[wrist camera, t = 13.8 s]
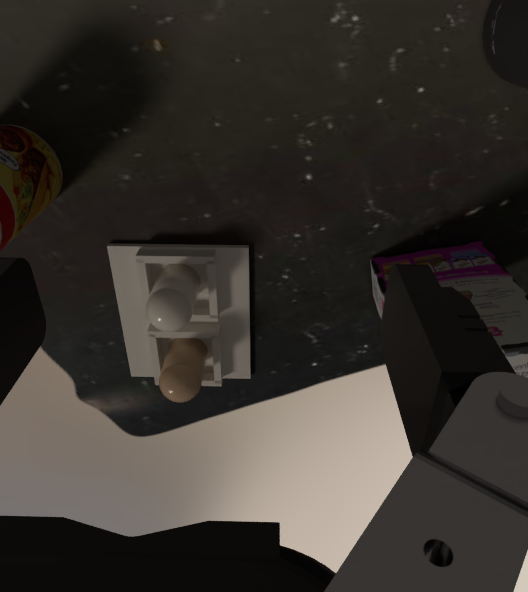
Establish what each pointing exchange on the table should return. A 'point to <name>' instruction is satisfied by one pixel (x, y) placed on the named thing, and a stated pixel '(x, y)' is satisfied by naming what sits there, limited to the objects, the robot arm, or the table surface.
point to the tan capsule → (183, 369)
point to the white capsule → (173, 297)
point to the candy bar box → (472, 291)
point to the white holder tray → (207, 313)
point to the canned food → (25, 179)
